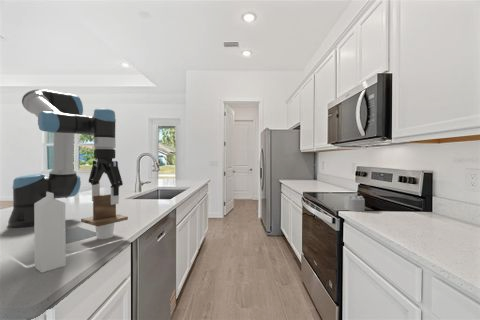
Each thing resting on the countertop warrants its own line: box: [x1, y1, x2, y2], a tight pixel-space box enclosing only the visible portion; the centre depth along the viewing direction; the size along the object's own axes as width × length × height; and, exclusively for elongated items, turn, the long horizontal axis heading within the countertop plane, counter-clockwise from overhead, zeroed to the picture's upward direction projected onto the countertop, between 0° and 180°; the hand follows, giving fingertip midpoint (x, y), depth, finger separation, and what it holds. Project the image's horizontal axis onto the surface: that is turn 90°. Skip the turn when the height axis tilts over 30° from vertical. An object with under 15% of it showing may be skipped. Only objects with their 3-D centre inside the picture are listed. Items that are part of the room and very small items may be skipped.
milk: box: [33, 192, 67, 273], centre depth 75 cm, size 6×6×22 cm
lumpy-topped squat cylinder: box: [344, 194, 366, 213], centre depth 159 cm, size 10×13×9 cm
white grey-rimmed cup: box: [95, 223, 115, 240], centre depth 101 cm, size 7×7×7 cm
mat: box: [65, 226, 97, 245], centre depth 103 cm, size 20×14×1 cm
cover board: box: [80, 193, 129, 227], centre depth 100 cm, size 12×12×10 cm
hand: (104, 202), depth 101 cm, fingers open, 13 cm apart
